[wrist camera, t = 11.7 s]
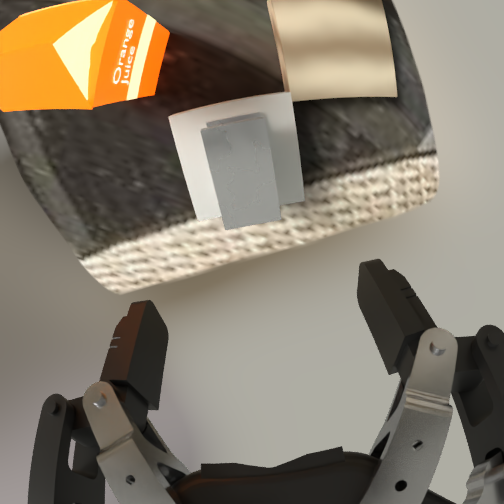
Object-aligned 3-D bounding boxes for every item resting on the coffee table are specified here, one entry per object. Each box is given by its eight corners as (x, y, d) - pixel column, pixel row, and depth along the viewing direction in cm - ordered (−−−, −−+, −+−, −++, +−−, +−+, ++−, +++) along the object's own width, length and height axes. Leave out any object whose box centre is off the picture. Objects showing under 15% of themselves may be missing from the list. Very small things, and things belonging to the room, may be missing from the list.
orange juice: (99, 31, 19) (-32, 12, 2) (171, 31, 21) (79, -33, 4) (85, 92, 23) (-50, 133, 7) (154, 96, 25) (41, 127, 8)
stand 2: (266, 2, 19) (270, -6, 17) (369, 4, 19) (381, -1, 16) (286, 100, 26) (291, 101, 24) (384, 94, 26) (397, 97, 23)
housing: (207, 121, 24) (200, 130, 19) (258, 111, 24) (265, 117, 19) (226, 202, 29) (225, 230, 24) (272, 193, 29) (281, 219, 24)
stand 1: (174, 113, 26) (168, 116, 24) (284, 91, 26) (290, 92, 23) (200, 209, 33) (198, 221, 30) (299, 190, 32) (304, 201, 30)
